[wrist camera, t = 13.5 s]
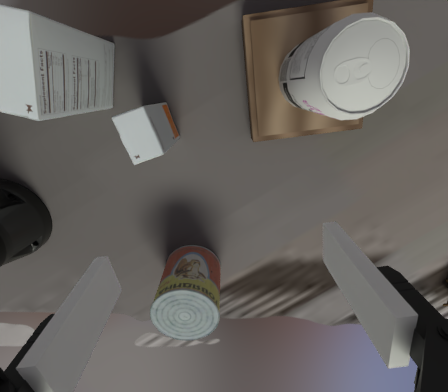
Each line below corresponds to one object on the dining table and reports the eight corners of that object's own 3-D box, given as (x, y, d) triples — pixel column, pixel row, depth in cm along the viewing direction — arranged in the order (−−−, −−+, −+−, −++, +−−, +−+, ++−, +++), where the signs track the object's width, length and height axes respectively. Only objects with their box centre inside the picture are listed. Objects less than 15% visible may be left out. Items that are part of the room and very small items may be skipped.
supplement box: (116, 42, 36) (33, 8, 20) (114, 109, 40) (42, 123, 24) (47, 27, 35) (-93, -20, 20) (52, 96, 39) (-64, 102, 23)
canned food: (223, 247, 50) (222, 292, 39) (218, 290, 54) (216, 342, 43) (166, 242, 49) (148, 287, 38) (166, 286, 54) (150, 338, 43)
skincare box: (181, 137, 41) (165, 155, 30) (157, 145, 42) (133, 166, 31) (166, 100, 39) (143, 105, 28) (141, 109, 40) (109, 117, 28)
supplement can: (336, 32, 32) (420, -9, 18) (340, 100, 35) (414, 109, 21) (273, 50, 33) (307, 24, 19) (282, 115, 36) (317, 132, 22)
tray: (251, 137, 41) (253, 142, 37) (241, 21, 35) (243, 14, 31) (351, 125, 40) (363, 128, 36) (359, 3, 34) (375, -7, 30)
